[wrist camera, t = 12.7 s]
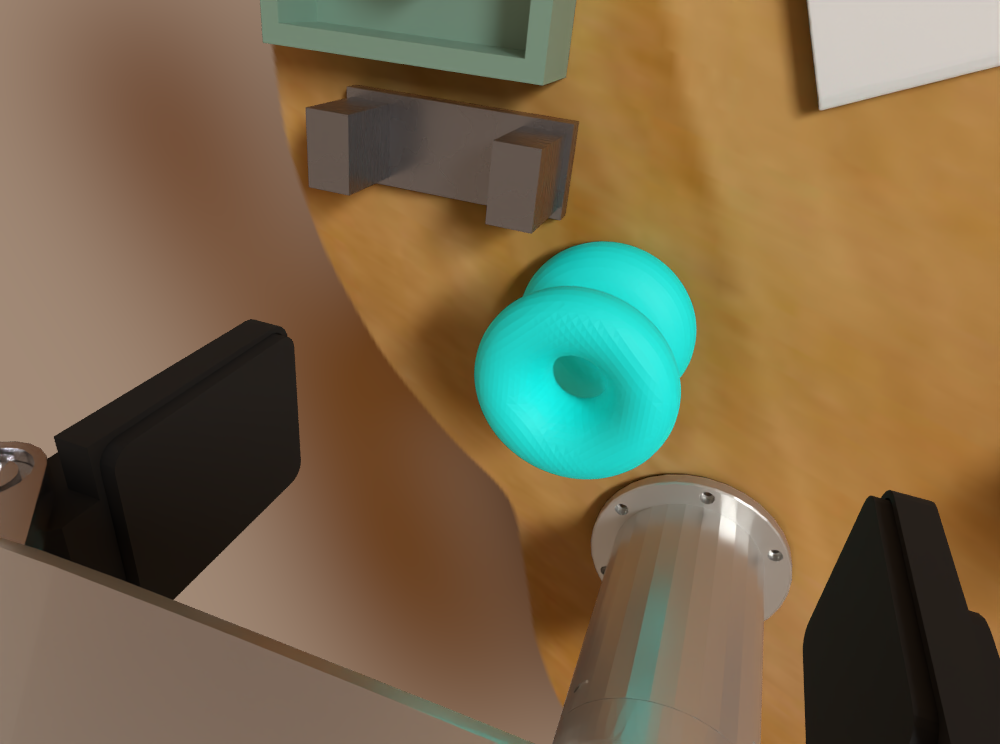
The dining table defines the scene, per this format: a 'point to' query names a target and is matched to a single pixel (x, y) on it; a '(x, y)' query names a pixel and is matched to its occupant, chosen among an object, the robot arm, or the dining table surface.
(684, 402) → the dining table surface
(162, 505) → the robot arm
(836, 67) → the external hard drive
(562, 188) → the bracket
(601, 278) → the donuts
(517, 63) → the tray
